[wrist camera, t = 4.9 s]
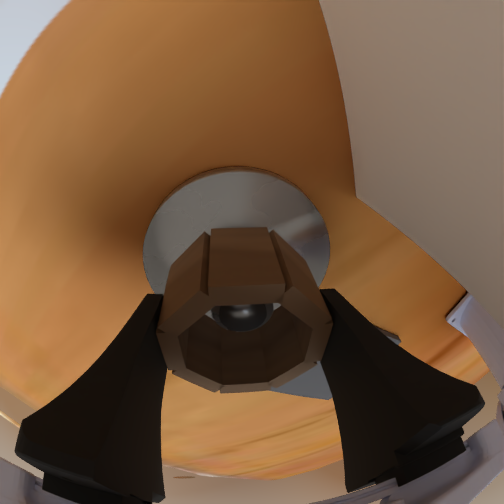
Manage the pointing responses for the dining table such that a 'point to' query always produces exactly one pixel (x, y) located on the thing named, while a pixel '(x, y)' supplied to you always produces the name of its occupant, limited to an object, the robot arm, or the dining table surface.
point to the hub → (234, 216)
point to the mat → (316, 380)
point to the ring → (242, 293)
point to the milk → (429, 126)
